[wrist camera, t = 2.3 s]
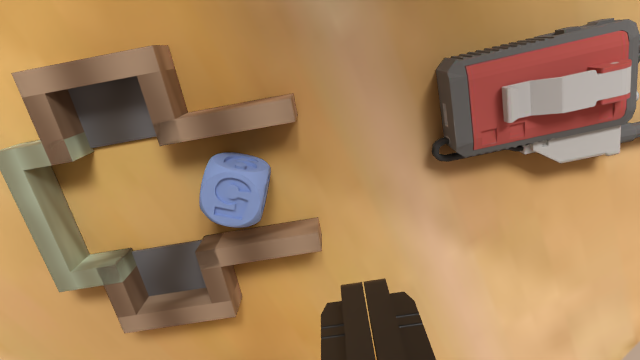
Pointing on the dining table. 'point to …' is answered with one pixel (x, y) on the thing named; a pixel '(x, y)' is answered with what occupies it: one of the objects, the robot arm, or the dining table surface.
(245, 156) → the decorative dice
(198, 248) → the trap channel
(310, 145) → the dining table surface
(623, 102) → the walkie-talkie
